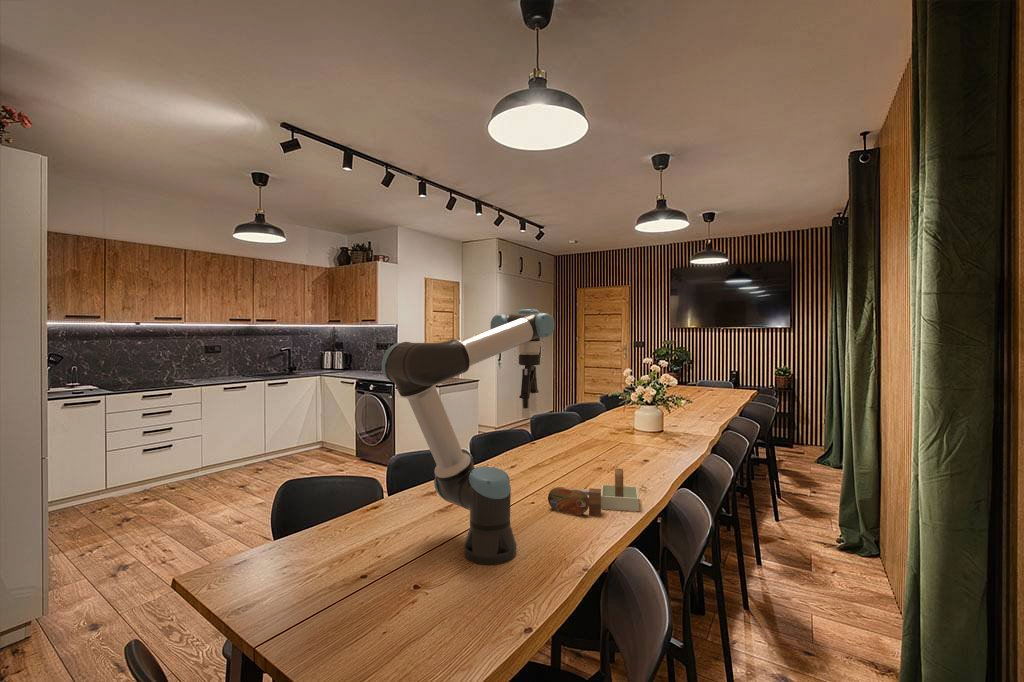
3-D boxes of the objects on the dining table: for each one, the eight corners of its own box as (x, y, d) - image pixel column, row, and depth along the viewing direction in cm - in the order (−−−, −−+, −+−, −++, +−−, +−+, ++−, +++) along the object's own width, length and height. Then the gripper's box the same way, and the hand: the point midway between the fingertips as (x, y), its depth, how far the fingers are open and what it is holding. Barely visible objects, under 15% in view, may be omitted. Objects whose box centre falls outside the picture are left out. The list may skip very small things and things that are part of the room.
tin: (547, 509, 171) (547, 486, 171) (551, 506, 173) (551, 483, 173) (586, 518, 163) (586, 493, 163) (590, 515, 165) (590, 490, 165)
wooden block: (600, 515, 164) (600, 492, 164) (589, 514, 165) (588, 492, 165) (600, 511, 168) (600, 488, 168) (589, 510, 169) (589, 488, 169)
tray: (638, 511, 168) (638, 498, 168) (600, 508, 171) (600, 496, 171) (637, 498, 181) (637, 486, 181) (601, 496, 184) (601, 484, 184)
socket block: (595, 506, 173) (595, 498, 173) (570, 504, 175) (570, 496, 175) (596, 498, 182) (596, 490, 182) (572, 496, 184) (572, 488, 184)
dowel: (623, 503, 174) (623, 471, 174) (615, 503, 175) (614, 470, 174) (623, 500, 177) (623, 468, 177) (615, 500, 178) (614, 468, 177)
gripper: (534, 355, 154) (534, 421, 154) (545, 352, 178) (545, 408, 178) (511, 355, 155) (511, 420, 155) (525, 352, 179) (525, 408, 180)
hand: (529, 414), depth 167 cm, fingers open, 13 cm apart
